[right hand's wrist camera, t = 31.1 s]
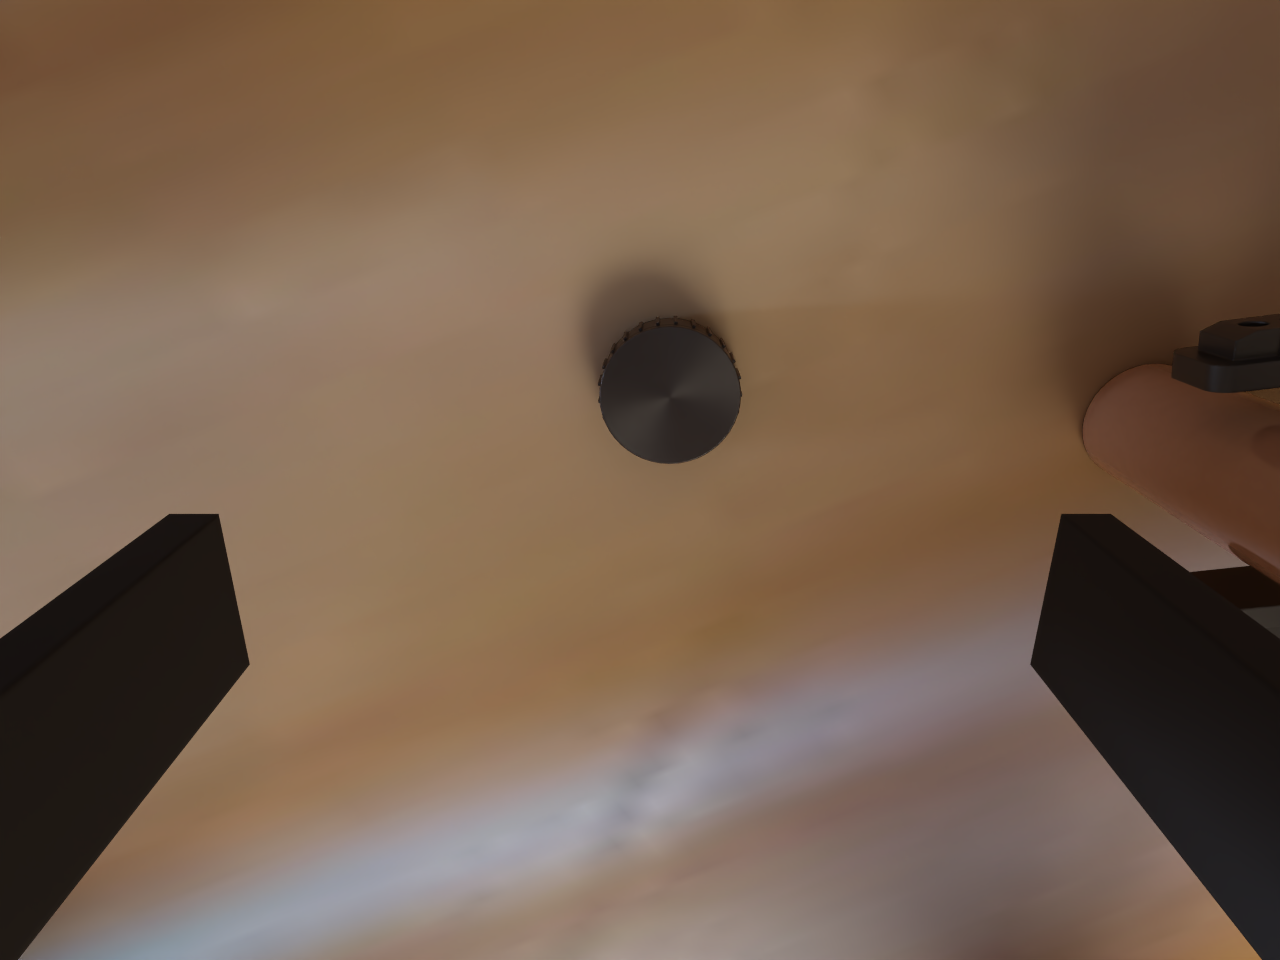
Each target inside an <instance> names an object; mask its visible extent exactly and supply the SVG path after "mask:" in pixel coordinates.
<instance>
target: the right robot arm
mask: <svg viewBox="0 0 1280 960" xmlns="http://www.w3.org/2000/svg"><path fill="white" fill-rule="evenodd" d="M249 665H250V664H249V659H248V654H247V649H246V644H245V639H244V635H243V630H242V625H241V620H240V615H239V610H238V606H237V601H236V596H235V591H234V586H233V582H232V577H231V572H230V567H229V562H228V557H227V553H226V548H225V543H224V538H223V533H222V528H221V524H220V519H219V514H169V515H167V516H166V517H165V518H163V519H162V520H161V521H159V522H158V523H156V524H155V525H154V526H152V527H151V528H150V529H148V530H147V531H146V532H144V533H143V534H142V535H140V536H139V537H137V538H136V539H135V540H133V541H132V542H131V543H129V544H128V545H127V546H125V547H124V548H123V549H121V550H120V551H119V552H117V553H116V554H114V555H113V556H112V557H110V558H109V559H108V560H106V561H105V562H104V563H102V564H101V565H100V566H98V567H97V568H95V569H94V570H93V571H91V572H90V573H89V574H87V575H86V576H85V577H83V578H82V579H81V580H79V581H78V582H76V583H75V584H74V585H72V586H71V587H70V588H68V589H67V590H66V591H64V592H63V593H62V594H60V595H59V596H57V597H56V598H55V599H53V600H52V601H51V602H49V603H48V604H47V605H45V606H44V607H43V608H41V609H40V610H38V611H37V612H36V613H34V614H33V615H32V616H30V617H29V618H28V619H26V620H25V621H24V622H22V623H21V624H19V625H18V626H17V627H15V628H14V629H13V630H11V631H10V632H9V633H7V634H6V635H5V636H3V637H2V638H0V960H18V959H19V958H20V956H21V955H22V954H23V952H24V951H25V950H26V949H27V947H28V946H29V945H30V944H31V942H32V941H33V940H34V938H35V937H36V936H37V935H38V933H39V932H40V931H41V930H42V928H43V927H44V926H45V924H46V923H47V922H48V921H49V919H50V918H51V917H52V916H53V914H54V913H55V912H56V910H57V909H58V908H59V907H60V905H61V904H62V903H63V901H64V900H65V899H66V898H67V896H68V895H69V894H70V893H71V891H72V890H73V889H74V887H75V886H76V885H77V884H78V882H79V881H80V880H81V879H82V877H83V876H84V875H85V873H86V872H87V871H88V870H89V868H90V867H91V866H92V865H93V863H94V862H95V861H96V859H97V858H98V857H99V856H100V854H101V853H102V852H103V851H104V849H105V848H106V847H107V845H108V844H109V843H110V842H111V840H112V839H113V838H114V837H115V835H116V834H117V833H118V831H119V830H120V829H121V828H122V826H123V825H124V824H125V823H126V821H127V820H128V819H129V817H130V816H131V815H132V814H133V812H134V811H135V810H136V809H137V807H138V806H139V805H140V803H141V802H142V801H143V800H144V798H145V797H146V796H147V794H148V793H149V792H150V791H151V789H152V788H153V787H154V786H155V784H156V783H157V782H158V780H159V779H160V778H161V777H162V775H163V774H164V773H165V772H166V770H167V769H168V768H169V766H170V765H171V764H172V763H173V761H174V760H175V759H176V758H177V756H178V755H179V754H180V752H181V751H182V750H183V749H184V747H185V746H186V745H187V744H188V742H189V741H190V740H191V738H192V737H193V736H194V735H195V733H196V732H197V731H198V730H199V728H200V727H201V726H202V724H203V723H204V722H205V721H206V719H207V718H208V717H209V716H210V714H211V713H212V712H213V710H214V709H215V708H216V707H217V705H218V704H219V703H220V702H221V700H222V699H223V698H224V696H225V695H226V694H227V693H228V691H229V690H230V689H231V687H232V686H233V685H234V684H235V682H236V681H237V680H238V679H239V677H240V676H241V675H242V673H243V672H244V671H245V670H246V668H247V667H248V666H249ZM1030 665H1031V666H1032V667H1033V668H1034V670H1035V671H1036V672H1037V673H1038V675H1039V676H1040V677H1041V679H1042V680H1043V681H1044V682H1045V684H1046V685H1047V686H1048V687H1049V689H1050V690H1051V691H1052V693H1053V694H1054V695H1055V696H1056V698H1057V699H1058V700H1059V702H1060V703H1061V704H1062V705H1063V707H1064V708H1065V709H1066V710H1067V712H1068V713H1069V714H1070V716H1071V717H1072V718H1073V719H1074V721H1075V722H1076V723H1077V724H1078V726H1079V727H1080V728H1081V730H1082V731H1083V732H1084V733H1085V735H1086V736H1087V737H1088V738H1089V740H1090V741H1091V742H1092V744H1093V745H1094V746H1095V747H1096V749H1097V750H1098V751H1099V752H1100V754H1101V755H1102V756H1103V758H1104V759H1105V760H1106V761H1107V763H1108V764H1109V765H1110V766H1111V768H1112V769H1113V770H1114V772H1115V773H1116V774H1117V775H1118V777H1119V778H1120V779H1121V780H1122V782H1123V783H1124V784H1125V786H1126V787H1127V788H1128V789H1129V791H1130V792H1131V793H1132V794H1133V796H1134V797H1135V798H1136V800H1137V801H1138V802H1139V803H1140V805H1141V806H1142V807H1143V809H1144V810H1145V811H1146V812H1147V814H1148V815H1149V816H1150V817H1151V819H1152V820H1153V821H1154V823H1155V824H1156V825H1157V826H1158V828H1159V829H1160V830H1161V831H1162V833H1163V834H1164V835H1165V837H1166V838H1167V839H1168V840H1169V842H1170V843H1171V844H1172V845H1173V847H1174V848H1175V849H1176V851H1177V852H1178V853H1179V854H1180V856H1181V857H1182V858H1183V859H1184V861H1185V862H1186V863H1187V865H1188V866H1189V867H1190V868H1191V870H1192V871H1193V872H1194V873H1195V875H1196V876H1197V877H1198V879H1199V880H1200V881H1201V882H1202V884H1203V885H1204V886H1205V887H1206V889H1207V890H1208V891H1209V893H1210V894H1211V895H1212V896H1213V898H1214V899H1215V900H1216V901H1217V903H1218V904H1219V905H1220V907H1221V908H1222V909H1223V910H1224V912H1225V913H1226V914H1227V916H1228V917H1229V918H1230V919H1231V921H1232V922H1233V923H1234V924H1235V926H1236V927H1237V928H1238V930H1239V931H1240V932H1241V933H1242V935H1243V936H1244V937H1245V938H1246V940H1247V941H1248V942H1249V944H1250V945H1251V946H1252V947H1253V949H1254V950H1255V951H1256V952H1257V954H1258V955H1259V956H1260V958H1261V959H1262V960H1280V638H1278V637H1277V636H1275V635H1274V634H1273V633H1271V632H1270V631H1269V630H1267V629H1266V628H1265V627H1263V626H1262V625H1261V624H1259V623H1258V622H1256V621H1255V620H1254V619H1252V618H1251V617H1250V616H1248V615H1247V614H1246V613H1244V612H1243V611H1242V610H1240V609H1239V608H1237V607H1236V606H1235V605H1233V604H1232V603H1231V602H1229V601H1228V600H1227V599H1225V598H1224V597H1223V596H1221V595H1220V594H1218V593H1217V592H1216V591H1214V590H1213V589H1212V588H1210V587H1209V586H1208V585H1206V584H1205V583H1204V582H1202V581H1201V580H1199V579H1198V578H1197V577H1195V576H1194V575H1193V574H1191V573H1190V572H1189V571H1187V570H1186V569H1185V568H1183V567H1182V566H1180V565H1179V564H1178V563H1176V562H1175V561H1174V560H1172V559H1171V558H1170V557H1168V556H1167V555H1166V554H1164V553H1163V552H1161V551H1160V550H1159V549H1157V548H1156V547H1155V546H1153V545H1152V544H1151V543H1149V542H1148V541H1147V540H1145V539H1144V538H1142V537H1141V536H1140V535H1138V534H1137V533H1136V532H1134V531H1133V530H1132V529H1130V528H1129V527H1128V526H1126V525H1125V524H1124V523H1122V522H1121V521H1119V520H1118V519H1117V518H1115V517H1114V516H1113V515H1111V514H1061V519H1060V524H1059V528H1058V533H1057V538H1056V543H1055V548H1054V553H1053V557H1052V562H1051V567H1050V572H1049V577H1048V582H1047V586H1046V591H1045V596H1044V601H1043V606H1042V610H1041V615H1040V620H1039V625H1038V630H1037V635H1036V639H1035V644H1034V649H1033V654H1032V659H1031V664H1030Z"/></svg>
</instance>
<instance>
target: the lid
mask: <svg viewBox="0 0 1280 960" xmlns="http://www.w3.org/2000/svg"><path fill="white" fill-rule="evenodd" d="M725 347H726V346H725V344H724V341H723V339H722V338H720V339H718V338H717V337H716V336H715V335H714V334H713V333H712V332H711V330H710V328H709V327H707V328H704V327H703V326H701V325H699V324H696V323H695V320H693V319H691V321H688V320H683V319H677V316H674V318H664V319H660V318H659V317H656V320H652V321H649V322H646V323H642V322H640V323H639V326H637V327H635V328H634V329H632V330H631V331H630V332H627V331H626V332H624V336H623V337H622V338H621V339H620V341H619V342H618V343H617V344H615V343H614V344H613V346H612V349H611V353H610V355H609V357H608V359H606V358H605V361H604V364H603V367H602V368H603V369H604V372H603V375H601V376H600V379H599V383H598V386H600V396H599V400H598V402H599V403H600V407H601V411H602V415H603V419H604V421H605V423H606V425H607V427H608V429H609V431H610V432H611V434H612V435H613V436H614V438H615V439H616V440H617V441H618V442H619V443H620V444H621V445H622V446H623V447H624V448H626V449H627V450H628V451H630V452H631V453H633V454H634V455H636V456H638V457H640V458H643V459H645V460H649V461H652V462H657V463H665V464H674V463H682V462H688V461H691V460H694V459H697V458H699V457H701V456H703V455H705V454H707V453H708V452H710V451H711V450H713V449H714V448H715V447H716V446H718V445H719V444H720V443H721V442H722V441H723V440H724V439H725V437H726V436H727V435H728V433H729V432H730V430H731V429H732V427H733V425H734V423H735V420H736V418H737V415H738V413H739V408H740V400H741V397H742V392H741V388H740V382H739V379H741V376H740V374H739V371H738V369H737V368H735V366H734V362H735V359H734V357H733V355H732V353H731V352H730V353H729V352H728V351H727V349H726V348H725Z"/></svg>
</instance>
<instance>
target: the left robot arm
mask: <svg viewBox="0 0 1280 960" xmlns="http://www.w3.org/2000/svg"><path fill="white" fill-rule="evenodd" d="M1171 377H1172V378H1173V379H1176V380H1178V381H1181V382H1183V383H1186V384H1188V385H1191V386H1194V387H1196V388H1199V389H1201V390H1204V391H1208V392H1215V393H1237V392H1246V391H1254V390H1262V389H1271V388H1279V387H1280V314H1274V315H1266V316H1262V317H1259V316H1258V317H1250V318H1246V319H1234V320H1226V321H1220V322H1218V323H1216V324H1214V325H1212V326H1210V327H1208V328H1206V329H1204V330H1202V331H1200V336H1199V345H1198V346H1194V347H1186V348H1180V349H1176V350H1174V353H1173V363H1172V373H1171ZM1190 573H1191V574H1193V575H1194V576H1195V577H1197V578H1198V579H1199V580H1201V581H1202V582H1204V583H1205V584H1206V585H1208V586H1209V587H1210V588H1212V589H1213V590H1214V591H1216V592H1217V593H1218V594H1220V595H1221V596H1223V597H1224V598H1225V599H1227V600H1228V601H1229V602H1231V603H1232V604H1233V605H1235V606H1236V607H1237V608H1239V609H1240V610H1242V611H1243V612H1244V613H1246V614H1247V615H1248V616H1250V617H1251V618H1252V619H1254V620H1255V621H1256V622H1258V623H1259V624H1261V625H1262V626H1263V627H1265V628H1266V629H1267V630H1269V631H1270V632H1271V633H1273V634H1274V635H1275V636H1277V637H1278V638H1280V585H1279V584H1277V583H1276V582H1274V581H1273V580H1271V579H1270V578H1268V577H1266V576H1265V575H1263V574H1262V573H1260V572H1259V571H1257V570H1256V569H1254V568H1253V567H1251V566H1244V567H1235V568H1225V569H1216V570H1206V571H1197V572H1190Z"/></svg>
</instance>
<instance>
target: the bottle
mask: <svg viewBox="0 0 1280 960" xmlns="http://www.w3.org/2000/svg"><path fill="white" fill-rule="evenodd" d="M1171 373H1172V366H1171V365H1166V364H1146V365H1141V366H1137V367H1134V368H1131V369H1129V370H1126V371H1124V372H1122V373H1120V374H1119V375H1117V376H1116V377H1114V378H1113V379H1111V380H1110V381H1109V382H1107V383H1106V384H1105V385H1104V386H1103V387H1102V388H1101V389H1100V390H1099V392H1098V393H1097V394H1096V395H1095V397H1094V398H1093V400H1092V401H1091V403H1090V405H1089V407H1088V409H1087V412H1086V415H1085V418H1084V422H1083V441H1084V445H1085V448H1086V451H1087V453H1088V455H1089V456H1090V458H1091V459H1092V460H1093V462H1094V463H1095V464H1096V465H1097V466H1099V467H1100V468H1101V469H1103V470H1104V471H1106V472H1107V473H1109V474H1110V475H1112V476H1113V477H1115V478H1116V479H1118V480H1120V481H1121V482H1123V483H1124V484H1126V485H1127V486H1129V487H1130V488H1132V489H1133V490H1135V491H1136V492H1138V493H1139V494H1141V495H1142V496H1144V497H1146V498H1147V499H1149V500H1150V501H1152V502H1153V503H1155V504H1156V505H1158V506H1159V507H1161V508H1162V509H1164V510H1165V511H1167V512H1169V513H1170V514H1172V515H1173V516H1175V517H1176V518H1178V519H1179V520H1181V521H1182V522H1184V523H1185V524H1187V525H1188V526H1190V527H1191V528H1193V529H1195V530H1196V531H1198V532H1199V533H1201V534H1202V535H1204V536H1205V537H1207V538H1208V539H1210V540H1211V541H1213V542H1214V543H1216V544H1217V545H1219V546H1221V547H1222V548H1224V549H1225V550H1227V551H1228V552H1230V553H1231V554H1233V555H1234V556H1236V557H1237V558H1239V559H1240V560H1242V561H1244V562H1245V563H1247V564H1248V565H1250V566H1251V567H1253V568H1254V569H1256V570H1257V571H1259V572H1260V573H1262V574H1263V575H1265V576H1266V577H1268V578H1270V579H1271V580H1273V581H1274V582H1276V583H1277V584H1279V585H1280V404H1277V403H1274V402H1271V401H1269V400H1266V399H1263V398H1260V397H1257V396H1255V395H1252V394H1249V393H1246V392H1237V393H1215V392H1208V391H1204V390H1201V389H1199V388H1196V387H1194V386H1191V385H1188V384H1186V383H1183V382H1181V381H1178V380H1176V379H1173V378H1172V377H1171Z"/></svg>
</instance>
